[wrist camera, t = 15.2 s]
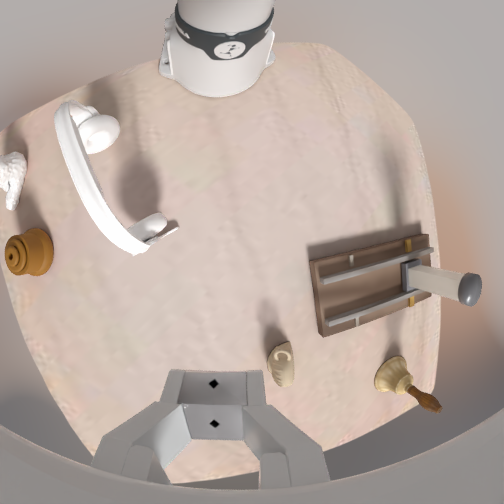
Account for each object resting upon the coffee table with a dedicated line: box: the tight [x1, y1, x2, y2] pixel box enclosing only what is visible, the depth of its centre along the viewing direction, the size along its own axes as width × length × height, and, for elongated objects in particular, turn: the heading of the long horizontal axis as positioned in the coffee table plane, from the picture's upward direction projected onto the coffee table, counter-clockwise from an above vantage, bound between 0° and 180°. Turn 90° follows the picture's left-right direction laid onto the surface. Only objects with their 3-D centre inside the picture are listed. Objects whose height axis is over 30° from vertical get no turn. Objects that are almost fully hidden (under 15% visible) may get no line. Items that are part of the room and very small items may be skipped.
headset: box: [54, 100, 179, 256], centre depth 27 cm, size 20×7×18 cm, turn 29°
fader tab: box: [401, 258, 482, 306], centre depth 34 cm, size 5×4×15 cm
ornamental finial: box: [5, 228, 54, 276], centre depth 29 cm, size 8×8×8 cm
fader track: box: [309, 234, 434, 338], centre depth 41 cm, size 12×24×4 cm, turn 100°
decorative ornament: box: [267, 342, 294, 387], centre depth 39 cm, size 4×8×5 cm, turn 4°
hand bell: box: [374, 356, 442, 413], centre depth 38 cm, size 8×8×16 cm
